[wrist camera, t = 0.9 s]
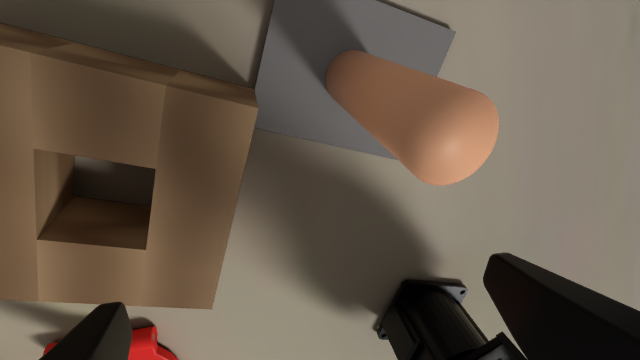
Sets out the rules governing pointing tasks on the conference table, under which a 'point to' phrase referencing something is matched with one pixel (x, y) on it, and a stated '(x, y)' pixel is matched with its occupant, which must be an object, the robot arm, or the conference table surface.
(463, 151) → the peg
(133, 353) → the tow hook
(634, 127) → the conference table surface
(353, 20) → the mat
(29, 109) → the socket block
